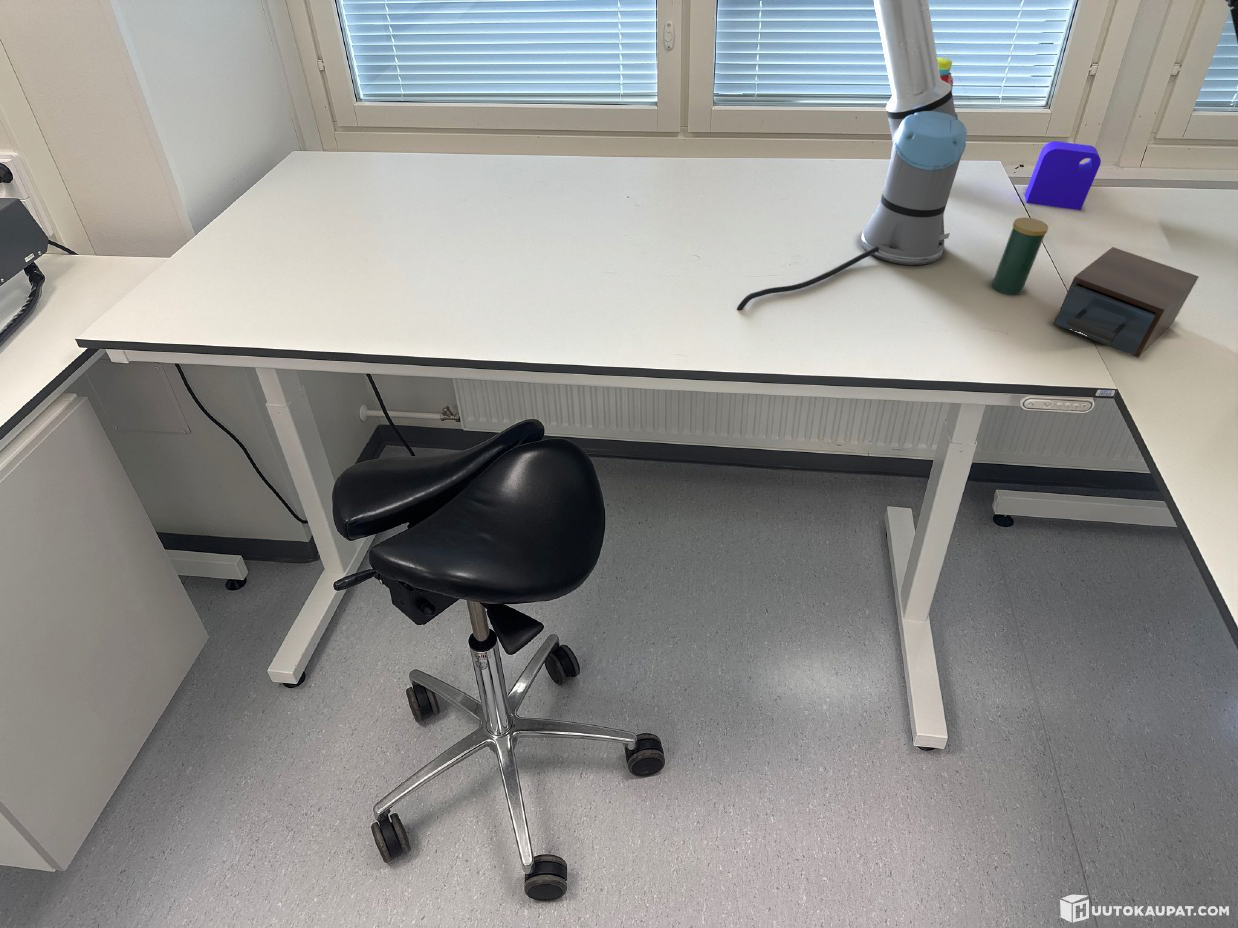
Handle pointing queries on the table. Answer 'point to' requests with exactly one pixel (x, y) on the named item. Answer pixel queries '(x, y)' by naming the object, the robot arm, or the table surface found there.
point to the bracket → (1063, 175)
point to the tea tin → (1019, 255)
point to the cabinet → (1139, 287)
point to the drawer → (1105, 318)
